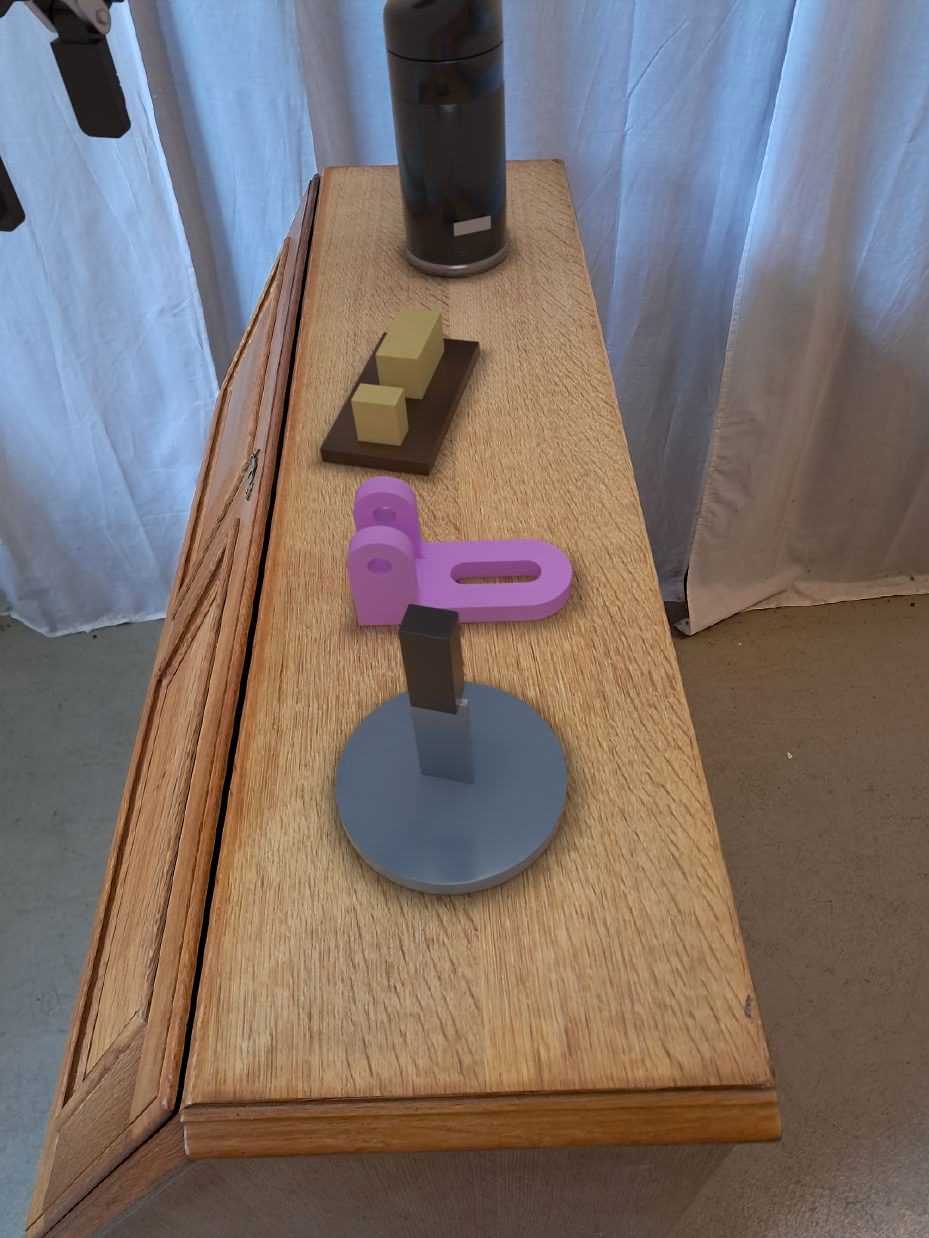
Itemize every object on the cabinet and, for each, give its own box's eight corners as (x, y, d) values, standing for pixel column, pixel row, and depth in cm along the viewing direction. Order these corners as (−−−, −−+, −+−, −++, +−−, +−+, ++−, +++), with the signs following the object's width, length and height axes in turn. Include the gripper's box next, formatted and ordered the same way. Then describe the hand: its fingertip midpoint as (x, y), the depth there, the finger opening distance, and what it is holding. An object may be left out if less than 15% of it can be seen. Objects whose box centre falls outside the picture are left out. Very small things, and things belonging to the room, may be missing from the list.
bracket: (359, 625, 56) (342, 544, 50) (366, 559, 59) (350, 477, 54) (574, 619, 55) (579, 536, 50) (568, 553, 59) (571, 469, 53)
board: (385, 344, 75) (383, 331, 74) (480, 354, 74) (479, 341, 73) (322, 462, 66) (319, 449, 65) (428, 476, 64) (427, 463, 63)
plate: (379, 677, 53) (376, 664, 52) (584, 714, 51) (585, 701, 50) (305, 865, 46) (300, 855, 45) (541, 920, 43) (542, 909, 42)
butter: (405, 346, 73) (401, 307, 70) (444, 351, 72) (441, 310, 69) (381, 395, 69) (375, 354, 66) (421, 399, 68) (417, 359, 65)
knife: (426, 757, 48) (401, 601, 39) (478, 767, 48) (465, 612, 38) (417, 783, 47) (390, 630, 38) (470, 794, 47) (456, 641, 37)
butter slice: (366, 423, 67) (360, 383, 64) (408, 428, 66) (403, 388, 63) (358, 440, 65) (350, 400, 63) (400, 446, 65) (395, 405, 62)
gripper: (-242, -399, 21) (46, 273, 33) (80, -427, 29) (212, 112, 42) (-494, -379, 22) (-129, 256, 35) (-117, -412, 31) (67, 104, 43)
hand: (58, 177), depth 38 cm, fingers open, 8 cm apart
